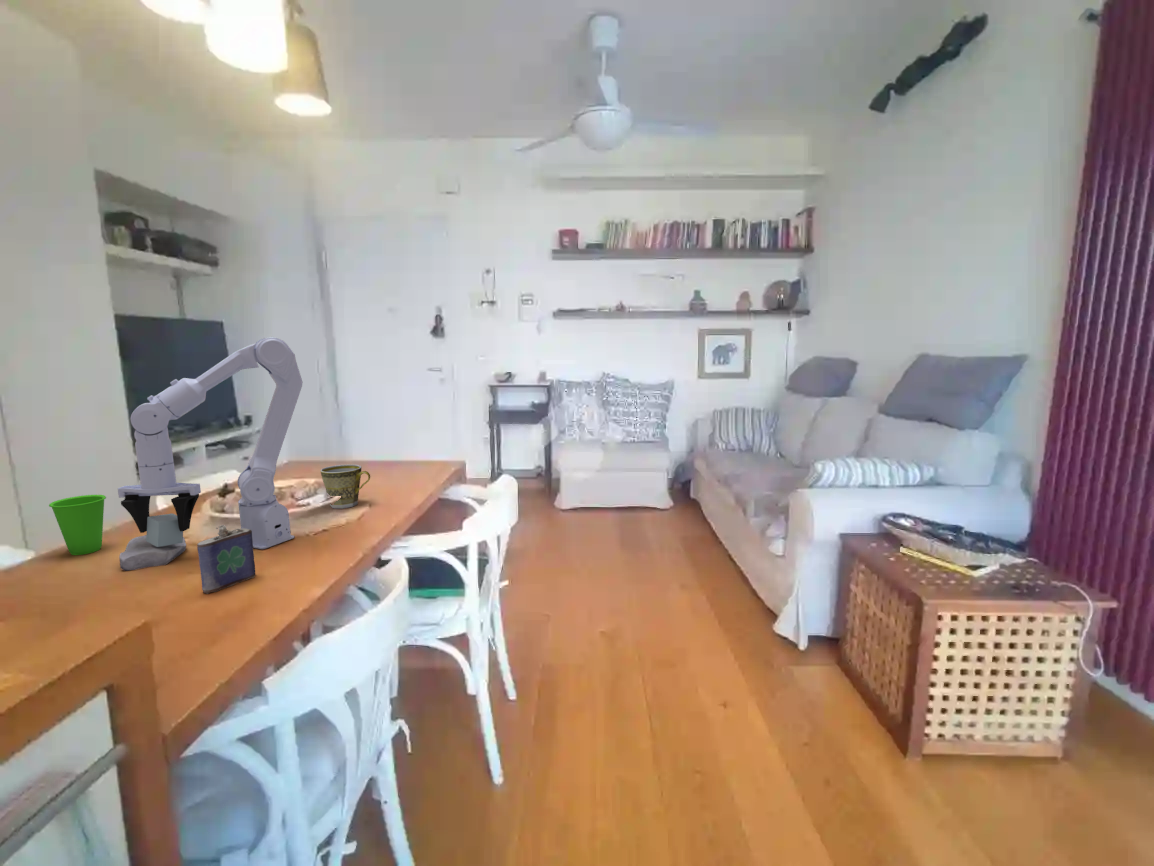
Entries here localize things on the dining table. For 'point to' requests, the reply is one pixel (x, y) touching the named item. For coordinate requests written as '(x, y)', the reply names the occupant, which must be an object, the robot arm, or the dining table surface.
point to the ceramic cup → (343, 483)
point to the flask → (226, 559)
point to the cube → (163, 530)
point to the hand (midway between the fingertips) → (165, 530)
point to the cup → (80, 522)
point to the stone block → (148, 554)
